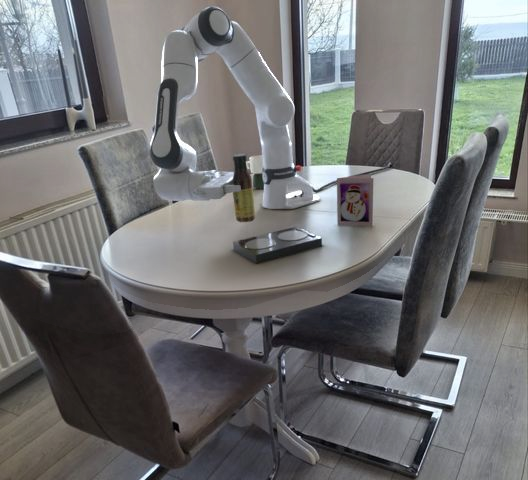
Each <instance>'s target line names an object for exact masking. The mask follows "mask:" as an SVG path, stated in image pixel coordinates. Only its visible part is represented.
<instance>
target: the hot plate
mask: <svg viewBox="0 0 528 480" xmlns="http://www.w3.org/2000/svg"><path fill="white" fill-rule="evenodd" d="M322 246H323V239H322V237H321V236H318V235H317V234H315V233H313V232H310V231H308V230H306V229H303V228H301V227H297V226H293V227H289V228H285V229H280V230H277V231H272V232H268V233H264V234H260V235H257V236H252V237H248V238H243V239H240V240H236V241H233V242H232V248H233V251H235V252H236V253H237V254H240V255H241V256H243V257H244V258H246V259H248V260H249V261H251V262H253V263H254V264H260V263H264V262H267V261H271V260H275V259H279V258H282V257H286V256H290V255H293V254H297V253H302V252H305V251H308V250H312V249H315V248H320V247H322Z"/></svg>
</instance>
